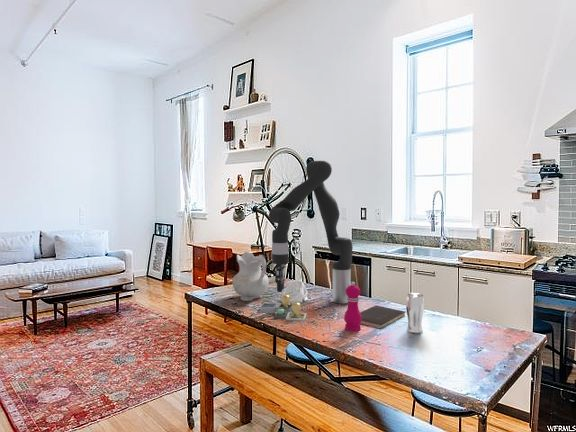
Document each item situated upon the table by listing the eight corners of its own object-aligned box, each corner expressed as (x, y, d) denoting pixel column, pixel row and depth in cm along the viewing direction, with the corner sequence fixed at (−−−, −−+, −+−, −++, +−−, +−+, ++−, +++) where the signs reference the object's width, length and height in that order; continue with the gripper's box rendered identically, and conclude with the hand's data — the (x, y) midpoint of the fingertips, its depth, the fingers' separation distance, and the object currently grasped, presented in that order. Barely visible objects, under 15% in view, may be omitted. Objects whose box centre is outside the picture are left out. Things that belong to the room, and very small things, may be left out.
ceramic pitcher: (279, 299, 217) (280, 253, 217) (257, 305, 200) (258, 255, 200) (247, 294, 228) (248, 250, 228) (224, 299, 212) (225, 252, 212)
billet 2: (301, 317, 181) (301, 302, 181) (300, 320, 178) (300, 304, 177) (292, 317, 182) (292, 301, 182) (291, 319, 178) (291, 304, 178)
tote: (306, 317, 183) (306, 313, 183) (304, 323, 175) (304, 318, 175) (288, 316, 185) (288, 312, 184) (285, 322, 176) (285, 318, 176)
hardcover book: (405, 316, 185) (405, 311, 185) (381, 329, 168) (381, 324, 168) (374, 309, 196) (374, 305, 196) (348, 321, 179) (348, 316, 178)
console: (287, 317, 183) (287, 312, 183) (285, 321, 178) (285, 315, 178) (276, 317, 184) (276, 311, 184) (274, 320, 179) (274, 315, 179)
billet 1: (290, 308, 192) (290, 294, 192) (289, 311, 188) (289, 296, 188) (282, 308, 193) (282, 294, 192) (280, 311, 189) (280, 296, 189)
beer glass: (414, 335, 160) (415, 298, 159) (402, 329, 166) (402, 294, 165) (427, 332, 163) (427, 295, 162) (414, 327, 169) (415, 292, 168)
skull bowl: (316, 297, 210) (308, 280, 205) (301, 317, 203) (292, 299, 197) (301, 294, 218) (293, 277, 212) (286, 312, 210) (277, 295, 204)
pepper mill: (363, 327, 170) (363, 280, 168) (359, 333, 163) (359, 284, 162) (347, 325, 173) (347, 279, 171) (341, 330, 166) (341, 282, 165)
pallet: (295, 309, 195) (295, 303, 195) (292, 316, 185) (292, 309, 185) (263, 308, 198) (263, 301, 197) (258, 314, 188) (258, 307, 188)
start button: (284, 313, 182) (284, 308, 182) (283, 315, 179) (283, 311, 179) (278, 313, 183) (278, 308, 182) (277, 315, 180) (276, 310, 179)
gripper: (285, 255, 171) (286, 294, 172) (291, 250, 185) (291, 286, 186) (268, 254, 172) (269, 294, 174) (275, 249, 186) (275, 286, 188)
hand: (280, 290), depth 180 cm, fingers open, 4 cm apart
